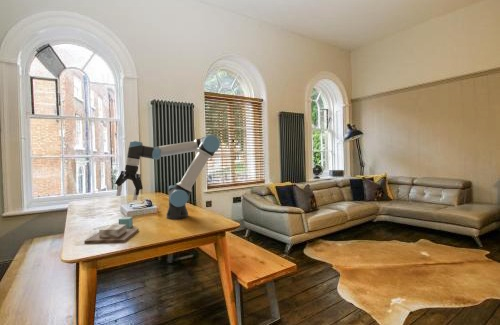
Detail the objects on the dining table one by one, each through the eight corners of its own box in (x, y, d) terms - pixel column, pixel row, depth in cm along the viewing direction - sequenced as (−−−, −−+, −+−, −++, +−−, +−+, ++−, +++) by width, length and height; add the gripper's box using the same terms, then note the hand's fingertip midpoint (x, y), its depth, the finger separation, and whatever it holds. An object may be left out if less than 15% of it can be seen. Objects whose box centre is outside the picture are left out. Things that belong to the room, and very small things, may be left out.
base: (138, 231, 157) (138, 221, 157) (124, 242, 137) (123, 232, 137) (103, 231, 156) (103, 222, 156) (84, 243, 136) (84, 232, 136)
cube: (132, 226, 169) (132, 216, 168) (128, 228, 163) (128, 219, 162) (123, 226, 168) (122, 216, 168) (118, 229, 162) (118, 219, 162)
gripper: (112, 161, 170) (106, 194, 170) (143, 167, 162) (137, 202, 161) (121, 162, 177) (116, 194, 177) (152, 168, 169) (146, 201, 168)
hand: (126, 197), depth 169 cm, fingers open, 13 cm apart
